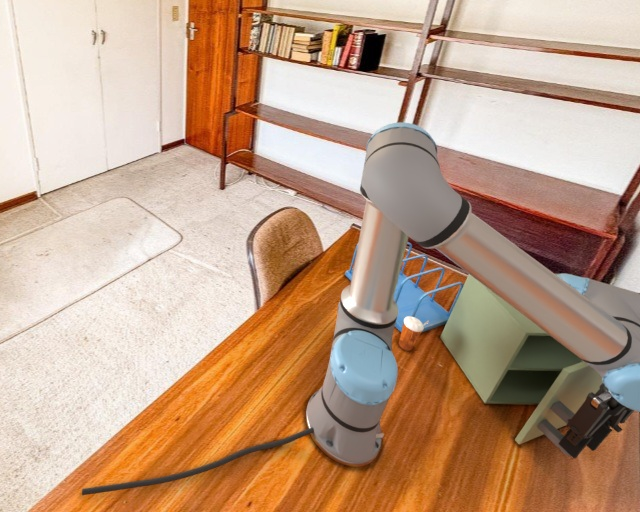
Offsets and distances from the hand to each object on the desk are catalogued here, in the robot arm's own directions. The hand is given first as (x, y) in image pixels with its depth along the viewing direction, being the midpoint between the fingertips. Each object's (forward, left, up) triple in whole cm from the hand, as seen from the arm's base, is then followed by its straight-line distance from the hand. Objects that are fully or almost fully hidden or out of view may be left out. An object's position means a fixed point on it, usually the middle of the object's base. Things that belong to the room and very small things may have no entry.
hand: (576, 446), depth 77 cm
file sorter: (-13, +45, -7) cm, 47 cm away
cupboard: (+6, +22, -7) cm, 23 cm away
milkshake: (-18, +28, -7) cm, 34 cm away
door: (+7, +5, -7) cm, 11 cm away
